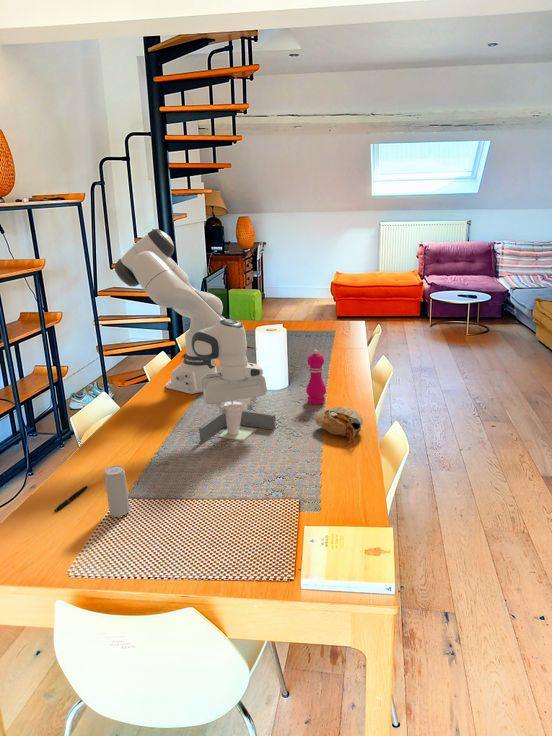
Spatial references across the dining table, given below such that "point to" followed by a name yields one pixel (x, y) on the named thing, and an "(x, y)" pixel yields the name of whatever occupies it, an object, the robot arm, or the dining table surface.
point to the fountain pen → (69, 499)
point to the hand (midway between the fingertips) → (236, 411)
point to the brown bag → (340, 421)
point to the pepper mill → (316, 379)
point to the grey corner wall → (246, 419)
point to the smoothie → (233, 416)
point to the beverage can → (117, 491)
